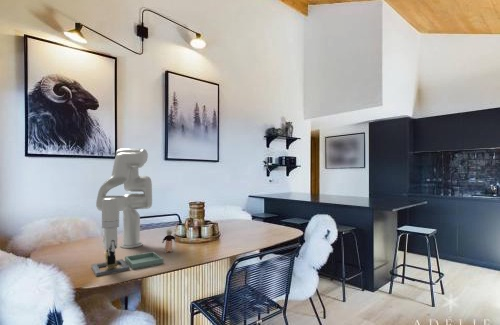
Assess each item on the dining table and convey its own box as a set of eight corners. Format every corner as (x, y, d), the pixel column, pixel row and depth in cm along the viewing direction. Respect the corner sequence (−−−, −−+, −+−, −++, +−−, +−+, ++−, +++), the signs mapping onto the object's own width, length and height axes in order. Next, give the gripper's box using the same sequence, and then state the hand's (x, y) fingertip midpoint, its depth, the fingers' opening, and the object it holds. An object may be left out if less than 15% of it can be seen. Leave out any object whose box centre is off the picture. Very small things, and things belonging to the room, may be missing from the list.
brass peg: (106, 266, 141) (103, 252, 140) (115, 263, 143) (112, 249, 143) (108, 269, 138) (105, 255, 137) (117, 266, 140) (114, 252, 139)
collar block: (91, 267, 142) (91, 264, 142) (122, 262, 150) (122, 259, 150) (96, 276, 130) (96, 273, 130) (129, 269, 138) (129, 266, 138)
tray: (124, 261, 151) (124, 256, 151) (153, 256, 159) (153, 251, 159) (132, 269, 139) (132, 264, 139) (163, 263, 148) (163, 258, 148)
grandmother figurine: (163, 253, 165) (164, 230, 165) (161, 251, 168) (161, 229, 168) (177, 251, 169) (177, 228, 169) (174, 249, 172) (174, 227, 172)
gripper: (98, 222, 145) (98, 259, 145) (105, 228, 131) (105, 269, 131) (115, 220, 149) (115, 256, 149) (123, 226, 136) (123, 266, 136)
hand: (110, 262), depth 140 cm, fingers closed on brass peg, 3 cm apart
